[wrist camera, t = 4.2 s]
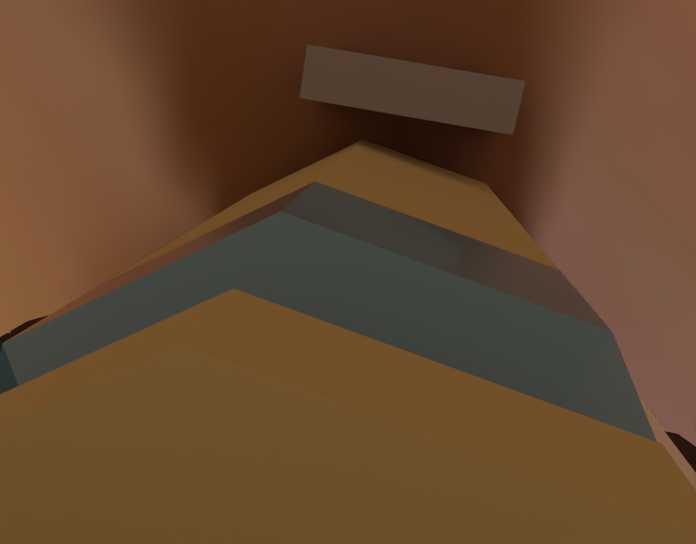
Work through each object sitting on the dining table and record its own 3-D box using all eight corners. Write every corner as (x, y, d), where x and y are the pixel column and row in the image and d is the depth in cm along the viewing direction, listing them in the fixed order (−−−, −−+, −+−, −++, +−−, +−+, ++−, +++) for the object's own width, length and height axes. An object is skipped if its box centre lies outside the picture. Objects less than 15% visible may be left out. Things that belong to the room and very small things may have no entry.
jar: (361, 66, 17) (124, -78, 3) (597, 287, 18) (1262, 972, 4) (164, 299, 20) (-495, 837, 5) (382, 484, 21) (315, 1358, 6)
